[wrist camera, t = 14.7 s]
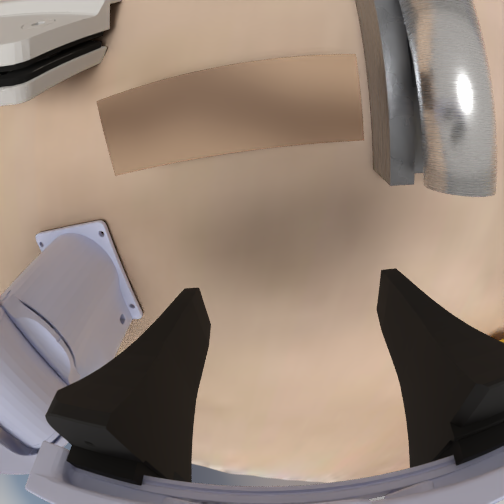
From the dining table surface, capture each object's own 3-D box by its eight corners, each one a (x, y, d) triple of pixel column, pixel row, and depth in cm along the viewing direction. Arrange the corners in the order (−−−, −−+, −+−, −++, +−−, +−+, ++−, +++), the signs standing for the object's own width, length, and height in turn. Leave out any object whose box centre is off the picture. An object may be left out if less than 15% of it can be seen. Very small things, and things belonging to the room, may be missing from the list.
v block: (450, 166, 17) (474, 182, 15) (373, 169, 18) (390, 185, 15) (438, -1, 11) (462, -9, 9) (352, -12, 12) (367, -27, 9)
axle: (473, 179, 14) (510, 197, 10) (413, 179, 15) (440, 196, 11) (453, 12, 10) (484, -9, 6) (389, 4, 11) (409, -25, 7)
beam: (340, 124, 17) (364, 140, 13) (150, 151, 18) (115, 175, 14) (333, 61, 15) (355, 54, 11) (137, 93, 16) (96, 101, 12)
